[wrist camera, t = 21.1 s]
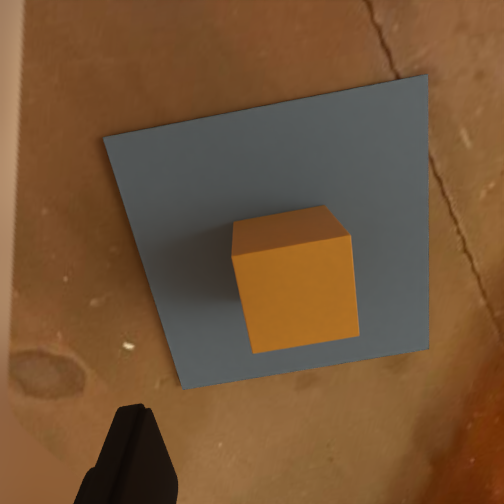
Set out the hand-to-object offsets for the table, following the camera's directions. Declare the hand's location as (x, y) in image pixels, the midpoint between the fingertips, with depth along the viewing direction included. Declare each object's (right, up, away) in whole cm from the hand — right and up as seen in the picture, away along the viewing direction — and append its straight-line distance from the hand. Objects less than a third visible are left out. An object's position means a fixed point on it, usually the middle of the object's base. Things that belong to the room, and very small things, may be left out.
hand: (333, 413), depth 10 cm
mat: (0, +4, +12) cm, 12 cm away
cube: (0, +4, +11) cm, 12 cm away
